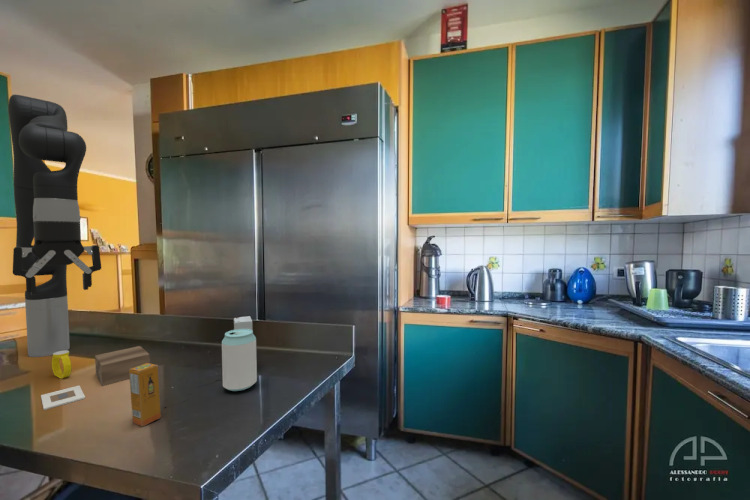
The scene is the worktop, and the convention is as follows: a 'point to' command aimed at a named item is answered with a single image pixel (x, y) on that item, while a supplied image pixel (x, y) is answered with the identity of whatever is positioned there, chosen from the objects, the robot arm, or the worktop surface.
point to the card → (62, 397)
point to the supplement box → (145, 394)
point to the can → (239, 359)
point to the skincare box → (243, 323)
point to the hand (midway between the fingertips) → (60, 291)
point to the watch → (66, 364)
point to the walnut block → (119, 364)
